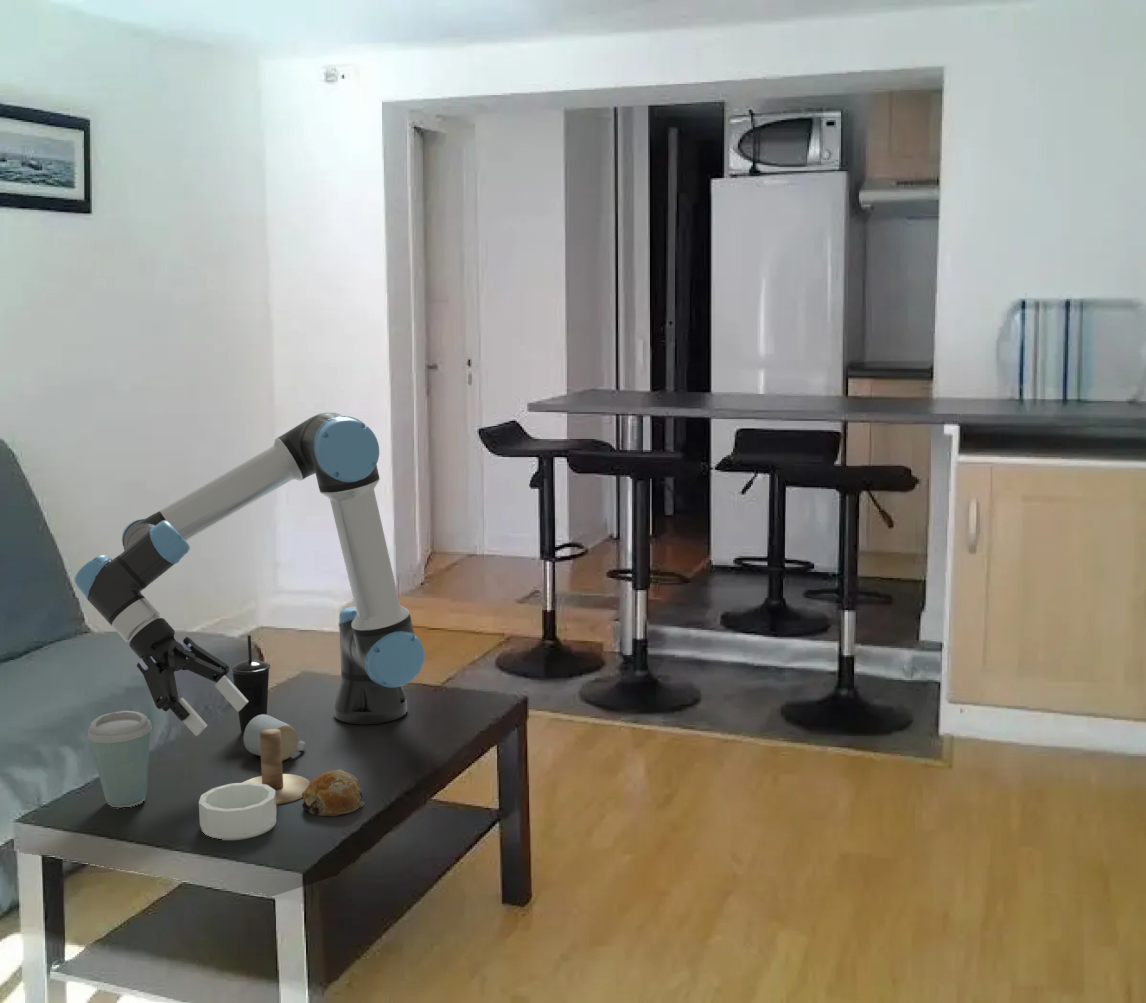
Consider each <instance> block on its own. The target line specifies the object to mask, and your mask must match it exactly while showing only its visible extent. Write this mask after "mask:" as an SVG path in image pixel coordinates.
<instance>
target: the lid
mask: <svg viewBox="0 0 1146 1003" xmlns="http://www.w3.org/2000/svg"><path fill="white" fill-rule="evenodd" d="M260 750H261V756H260V764H261V765H260V766H261V768H260V769H261V775H259V776H256V777H251V778H249V779H247V780H245V781H243V782H241V783H246V782H253V783H259V784H266V785H268V786H270V787H271V788H273V789H274V790H275V792H276V806H277V805H284V804H289V803H292V802H294V801H297V800H300V799H302V798H303V795H302V793H303V792H304V791H305V790H306V788H307V787H308V786H309V784H310V782H311V781H310V780H309V779H308V778H305V777H303V776H302V775H297V774H292V773H283V771H284V770H283V761H282V749H281V731H280V730H278V729H266V730H263V731H261V732H260Z"/></svg>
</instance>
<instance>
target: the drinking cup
mask: <svg viewBox="0 0 1146 1003" xmlns="http://www.w3.org/2000/svg"><path fill="white" fill-rule="evenodd" d="M247 652H248V653H247V654H248V657H247V658H248V659H247V660H242V661H240V662H238V663H237V664H234V665H233V666H231V668H230V672H231V673H232V678H233V683H234V685H235V686H236V687H237V689H238V690H239V691H240V692H241V693H242V694H243V695H244V697H245V698H246V699H247V700H248V701H249V702H248V703H247V704H246V705H245V706H244V707H243V708H242V709H241V710H240V711H239V712H237V713H238V720H239V726H240V733H241V736H244V731H245V728H246V726H247V725H248V723H249V722H250V721H251V720H252V719H253V718H254V717H256V716H258V715H262V714H265V715H268V698H269V678H270V677H269V675H270V670H271V664H270V663H269V662H266V661H262V660H259V659H253V653H252V652H253V650H252V636H251V635H247Z"/></svg>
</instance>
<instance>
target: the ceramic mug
mask: <svg viewBox="0 0 1146 1003" xmlns="http://www.w3.org/2000/svg"><path fill="white" fill-rule="evenodd" d="M266 729H278V730H280V731H281V749H282V762H283V761H285V760H288V759H289V758H291V757H292V755H293V754H294V753H295V751H298V752H299V751H304V748H305V745H306V742H305V741H303V740H300V739H299V737H298V733H297V731H296V729H295V728H294V727H293V726H291V725H290V724H289V723H286V722H284V721H282V720H279V719H277V718H275V717H273V716H271V715H268V714H267V715H265V714H262V715H258V716H256V717H254V718H253V719H252V720H251V721H250V722H249V723H248V725H247V726H246V728H245V731H244V735H243V738H242V740H243V745H244V747H245V749H246V750H247V752H249V753H251V754H253V755H256V756H259V757H261V750H260V732H261V731H263V730H266Z"/></svg>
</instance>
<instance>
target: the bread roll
mask: <svg viewBox="0 0 1146 1003" xmlns="http://www.w3.org/2000/svg"><path fill="white" fill-rule="evenodd" d="M309 782H310V784H309V786H308V787H307V788H306V790H305V791H304V792H303V793H302V795H303V797H302V798H303V803H301V804H302V808H303V809H304V810H306V811H307V812H309V814H312V815H314V816H320V817H321V816H322V817H338V816H341V815H346V814H350V813H351V814H352V813H353V812H356V811H357V810H358V809H360V808H363V806H364V805H365V801H363V800H362V799H363V792H362V787H361V784H360V782H359V780H358V778H357V777H356V776H355V775H353V774H352V773H350V772H348V771H344V770H342V769H337V770H335V769H334V770H328V771H325V772H322V773H321V774H319V775H317V776H316V777H315V778H313V779H312V780H311V781H309Z"/></svg>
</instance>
